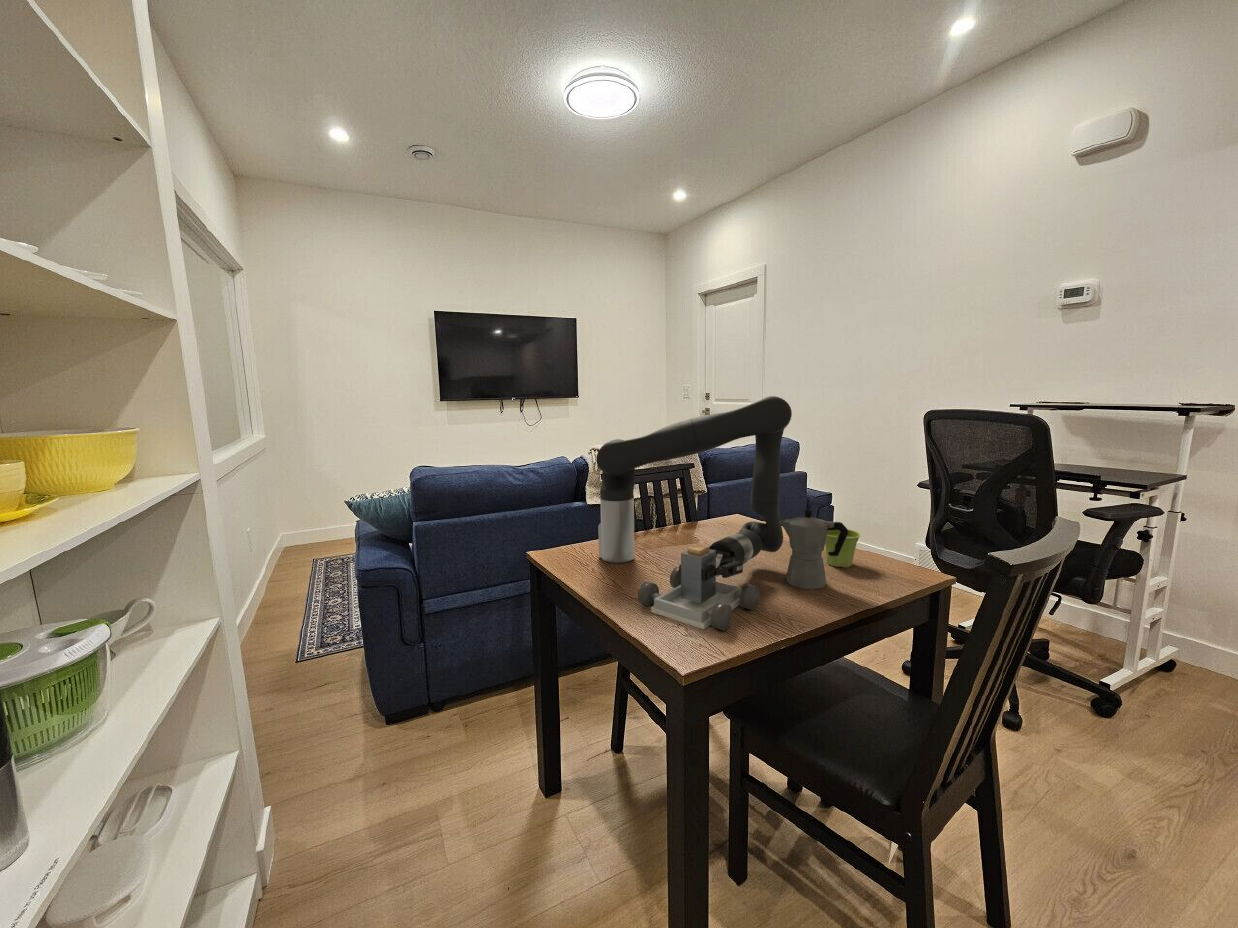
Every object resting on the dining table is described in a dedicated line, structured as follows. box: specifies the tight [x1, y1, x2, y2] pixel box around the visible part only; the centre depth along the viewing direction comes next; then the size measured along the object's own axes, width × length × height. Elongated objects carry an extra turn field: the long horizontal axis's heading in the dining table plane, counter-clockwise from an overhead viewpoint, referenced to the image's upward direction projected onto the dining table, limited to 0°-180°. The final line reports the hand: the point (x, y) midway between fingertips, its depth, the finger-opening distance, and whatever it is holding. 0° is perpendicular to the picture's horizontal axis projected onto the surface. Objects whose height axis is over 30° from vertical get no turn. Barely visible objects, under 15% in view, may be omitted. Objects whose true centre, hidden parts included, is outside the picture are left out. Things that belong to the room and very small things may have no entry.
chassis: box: [637, 566, 760, 632], centre depth 111 cm, size 20×17×5 cm
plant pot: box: [824, 528, 861, 569], centre depth 136 cm, size 9×9×9 cm
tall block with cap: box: [680, 543, 717, 604], centre depth 110 cm, size 5×6×11 cm
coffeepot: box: [779, 509, 848, 590], centre depth 122 cm, size 15×9×18 cm, turn 65°
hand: (692, 572), depth 108 cm, fingers closed on tall block with cap, 5 cm apart
